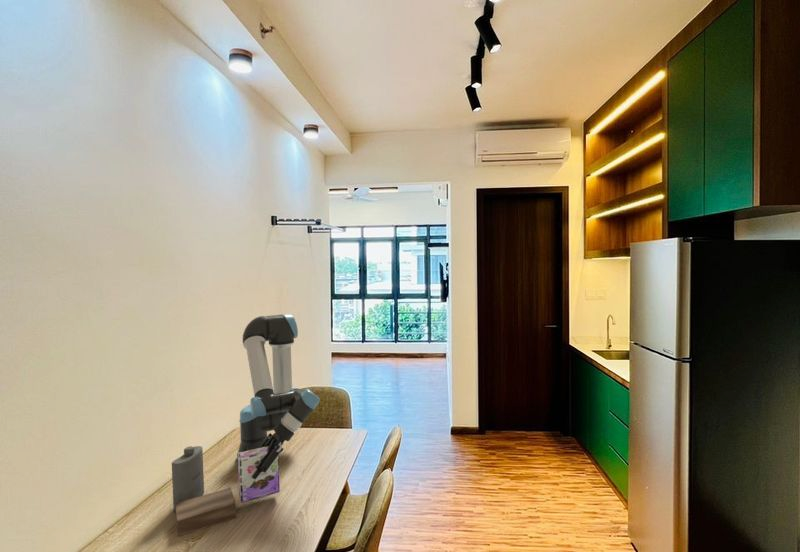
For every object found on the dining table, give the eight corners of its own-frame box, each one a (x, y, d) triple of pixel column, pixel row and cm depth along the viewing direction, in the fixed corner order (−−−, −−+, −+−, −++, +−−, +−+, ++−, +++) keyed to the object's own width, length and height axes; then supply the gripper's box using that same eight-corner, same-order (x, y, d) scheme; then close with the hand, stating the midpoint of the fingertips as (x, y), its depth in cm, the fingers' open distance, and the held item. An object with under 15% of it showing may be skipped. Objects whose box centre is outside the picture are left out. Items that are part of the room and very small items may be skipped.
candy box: (240, 503, 144) (239, 458, 144) (238, 495, 149) (237, 451, 149) (280, 492, 151) (278, 449, 150) (276, 485, 156) (275, 443, 155)
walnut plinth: (176, 517, 142) (175, 503, 142) (231, 500, 151) (230, 487, 151) (177, 536, 131) (177, 521, 131) (236, 517, 141) (235, 503, 141)
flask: (186, 512, 144) (183, 457, 144) (170, 512, 145) (168, 457, 144) (208, 489, 159) (206, 439, 159) (194, 489, 160) (192, 439, 159)
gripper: (302, 441, 148) (257, 498, 141) (287, 423, 165) (247, 474, 157) (287, 430, 145) (240, 488, 138) (274, 413, 162) (232, 465, 154)
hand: (244, 481), depth 147 cm, fingers closed on candy box, 6 cm apart
